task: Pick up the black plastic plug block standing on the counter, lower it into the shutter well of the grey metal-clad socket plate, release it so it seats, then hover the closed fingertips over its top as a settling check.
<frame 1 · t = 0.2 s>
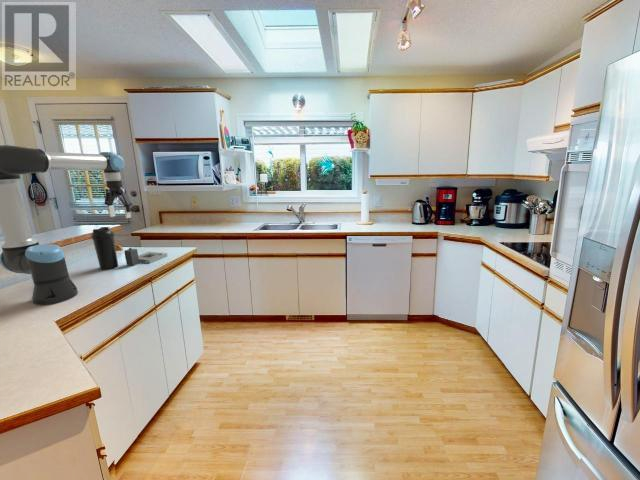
hand: (120, 217, 174), 27 cm above the counter, fingers open, 13 cm apart
socket: (149, 258, 184), on the counter
plug: (133, 264, 174), on the counter
water bottle: (109, 267, 170), on the counter
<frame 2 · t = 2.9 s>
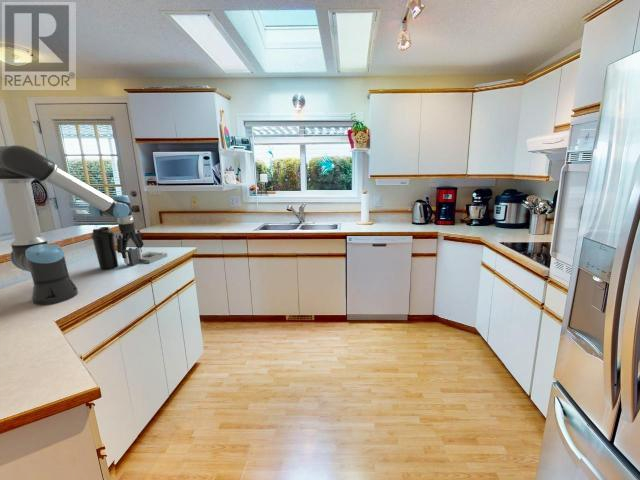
hand: (133, 260, 174), 2 cm above the counter, fingers open, 8 cm apart
nothing on the counter moved.
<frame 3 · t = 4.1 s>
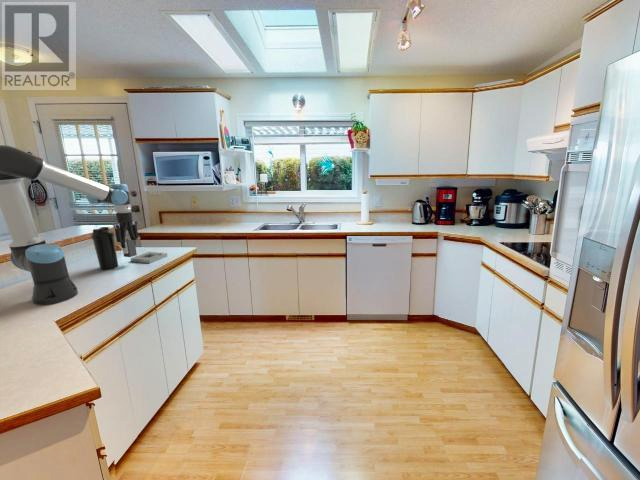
hand: (129, 252, 172), 8 cm above the counter, fingers closed on plug, 4 cm apart
plug: (130, 255, 172), point 6 cm above the counter, touching gripper
everything else where it was.
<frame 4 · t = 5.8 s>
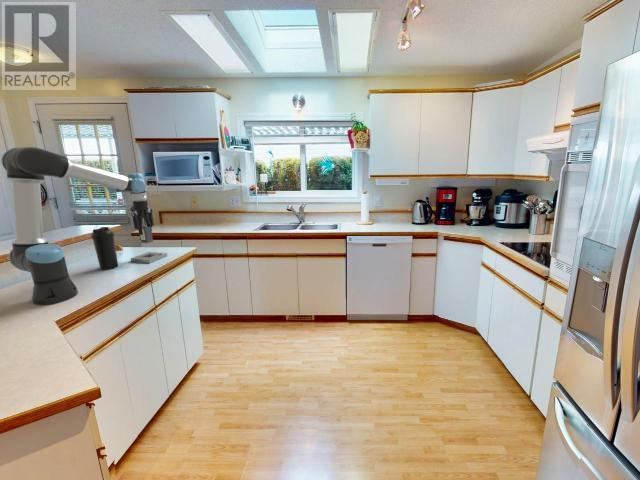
hand: (146, 238, 181), 13 cm above the counter, fingers closed on plug, 4 cm apart
plug: (147, 241, 182), point 11 cm above the counter, touching gripper
everything else where it was.
when the fingers open (3 cm above the counter, at t = 7.9 s): plug drops 1 cm, resting in socket.
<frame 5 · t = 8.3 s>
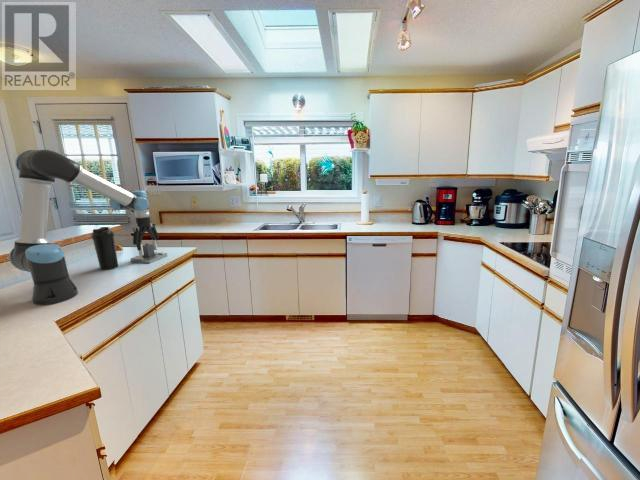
hand: (148, 252, 183), 4 cm above the counter, fingers open, 10 cm apart
plug: (149, 258, 184), resting in socket
everything else where it was.
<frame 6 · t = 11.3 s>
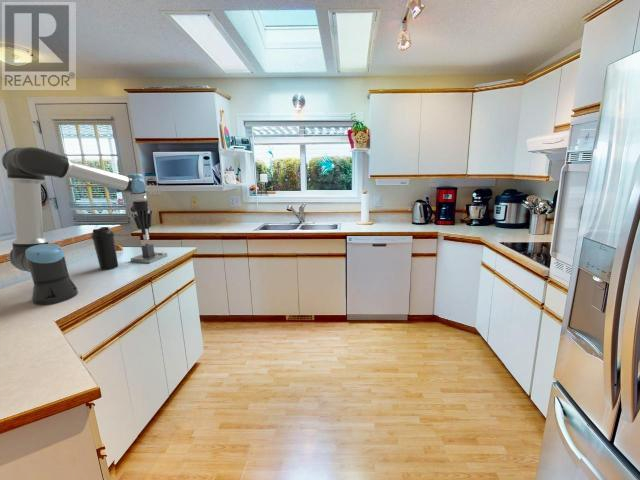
hand: (146, 239, 181), 12 cm above the counter, fingers closed
nothing on the counter moved.
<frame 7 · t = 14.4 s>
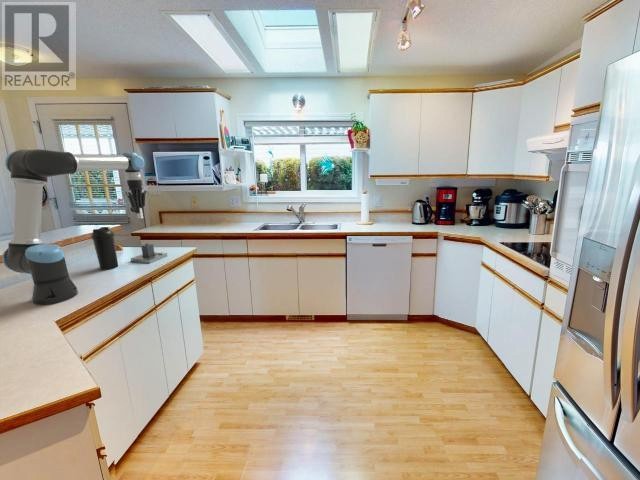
hand: (140, 218, 184), 24 cm above the counter, fingers closed
nothing on the counter moved.
at the end: plug 0.1 cm off-centre on the socket, point 0.0 cm above the socket's base; plug tilted 0°; the gripper is holding nothing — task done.
